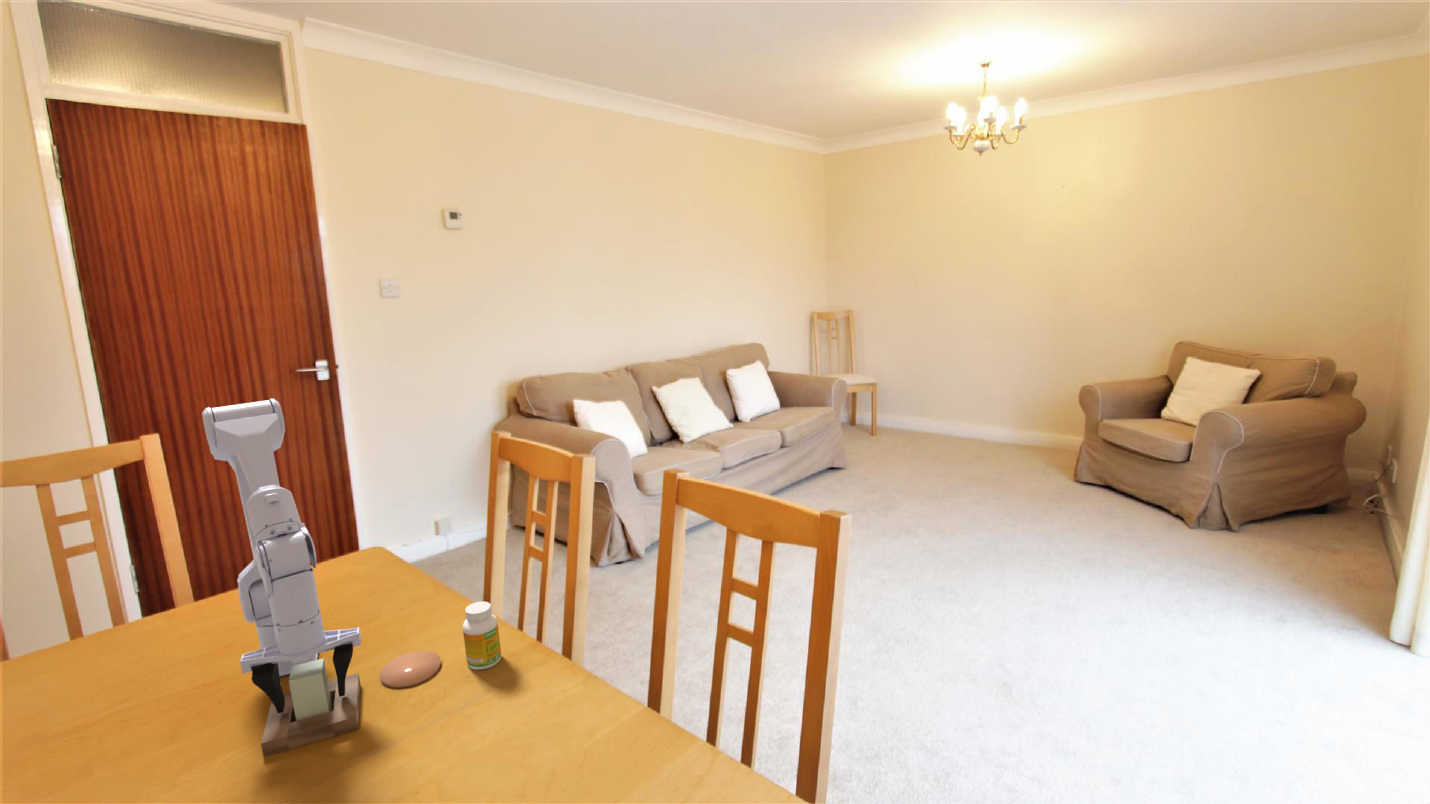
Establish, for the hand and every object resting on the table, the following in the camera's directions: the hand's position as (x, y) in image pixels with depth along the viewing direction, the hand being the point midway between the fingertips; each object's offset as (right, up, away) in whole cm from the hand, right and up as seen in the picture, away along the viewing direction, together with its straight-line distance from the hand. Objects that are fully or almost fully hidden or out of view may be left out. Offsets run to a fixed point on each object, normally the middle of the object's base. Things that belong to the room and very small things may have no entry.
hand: (312, 700), depth 98 cm
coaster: (+9, 0, +11) cm, 15 cm away
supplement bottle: (+20, 0, +13) cm, 24 cm away
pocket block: (0, -3, +1) cm, 3 cm away
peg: (0, -3, +1) cm, 3 cm away
